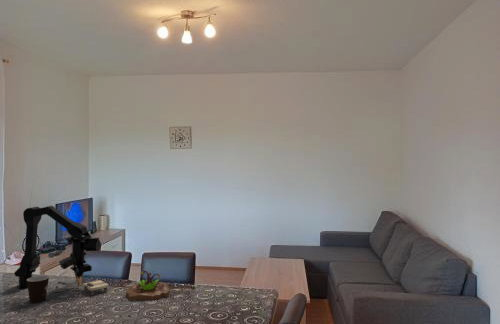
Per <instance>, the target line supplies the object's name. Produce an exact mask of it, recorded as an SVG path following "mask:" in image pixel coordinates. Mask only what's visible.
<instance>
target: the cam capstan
mask: <svg viewBox="0 0 500 324" xmlns="http://www.w3.org/2000/svg"><path fill="white" fill-rule="evenodd" d="M80 286H82V276H77V281H76V280H69V281H66V280H60V281H59V280H58V281H55V282H53V283H52V292H53V293H62V292H65V291H67V290H68V288H73V287H80Z"/></svg>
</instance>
